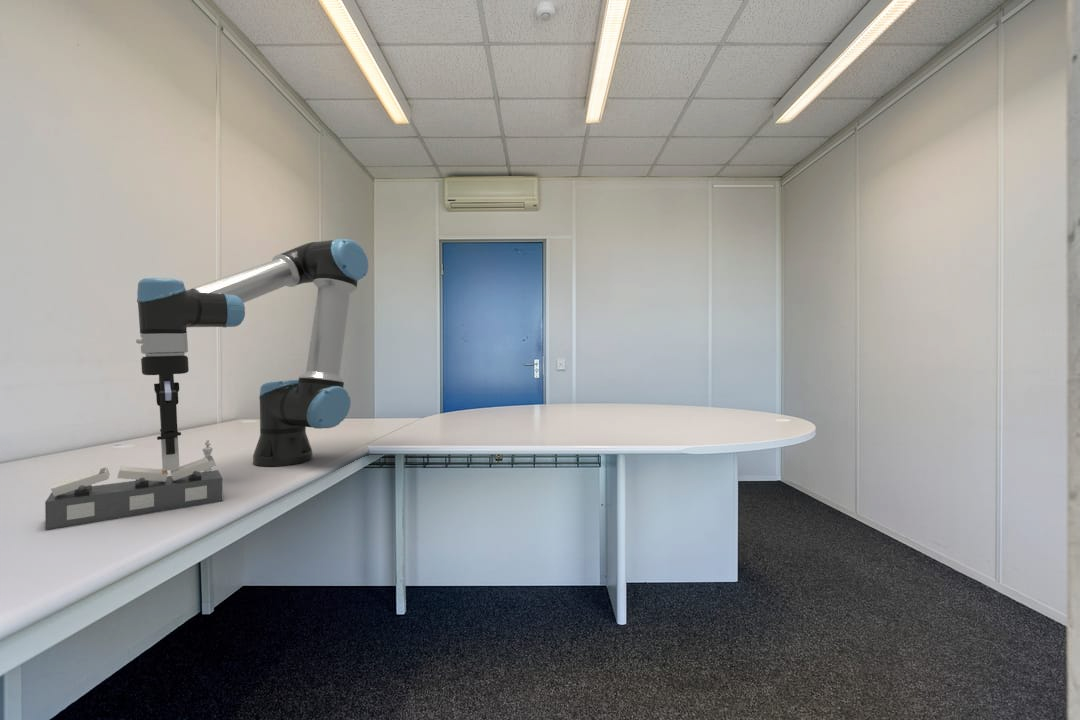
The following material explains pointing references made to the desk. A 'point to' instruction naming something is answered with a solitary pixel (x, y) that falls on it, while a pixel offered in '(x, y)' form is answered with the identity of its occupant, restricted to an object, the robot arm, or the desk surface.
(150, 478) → the rocker
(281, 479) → the desk surface
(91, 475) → the rocker
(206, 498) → the rocker switch box
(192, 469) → the rocker
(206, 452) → the chess piece
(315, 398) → the robot arm
